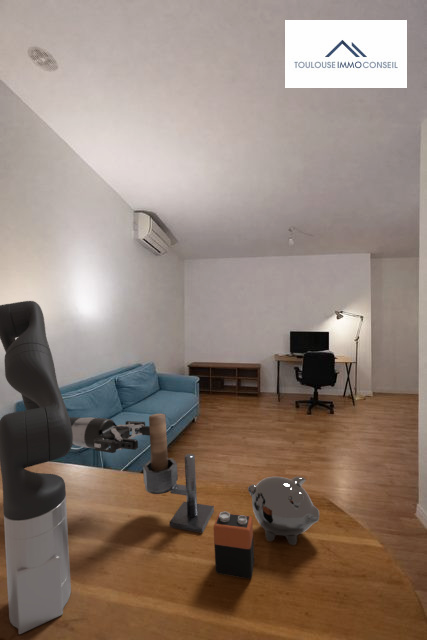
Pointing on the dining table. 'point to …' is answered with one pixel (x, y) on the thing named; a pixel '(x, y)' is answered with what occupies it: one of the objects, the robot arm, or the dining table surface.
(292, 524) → the piggy bank
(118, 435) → the robot arm
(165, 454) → the rail post
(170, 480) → the cup bracket
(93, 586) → the dining table surface
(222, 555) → the battery
